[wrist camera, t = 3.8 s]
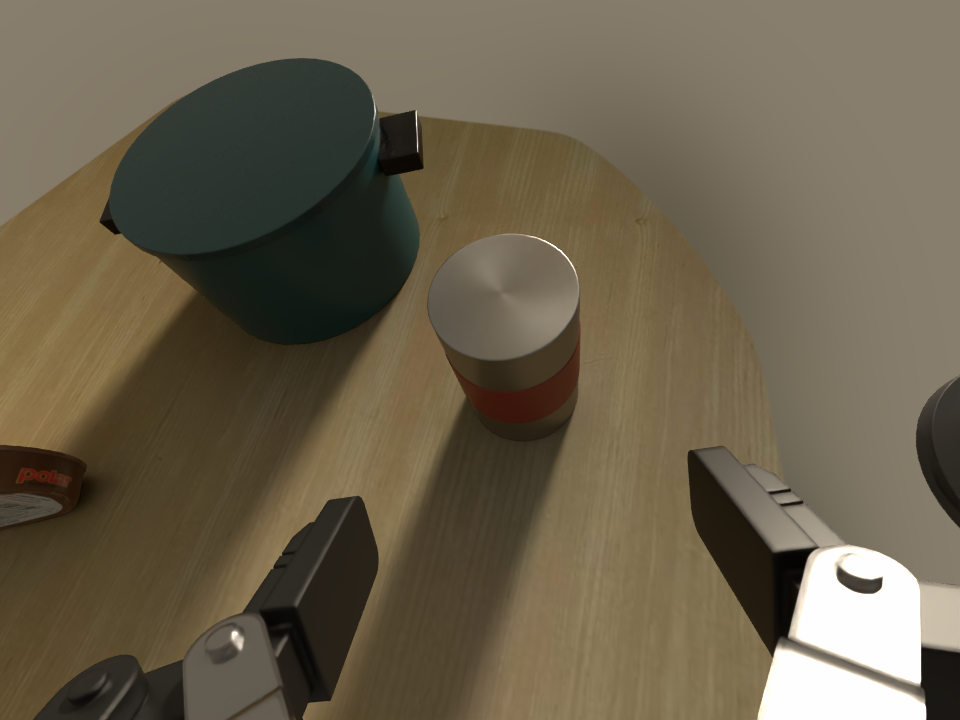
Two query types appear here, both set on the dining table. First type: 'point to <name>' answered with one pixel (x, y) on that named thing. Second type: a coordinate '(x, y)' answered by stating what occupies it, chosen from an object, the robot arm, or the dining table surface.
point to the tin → (37, 484)
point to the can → (511, 332)
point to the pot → (277, 198)
